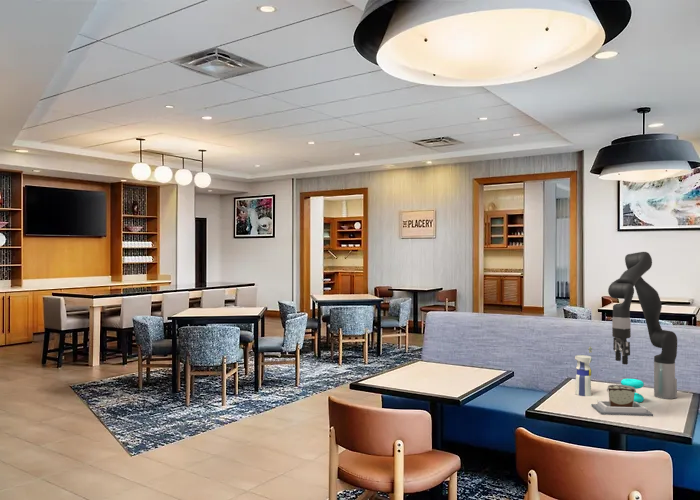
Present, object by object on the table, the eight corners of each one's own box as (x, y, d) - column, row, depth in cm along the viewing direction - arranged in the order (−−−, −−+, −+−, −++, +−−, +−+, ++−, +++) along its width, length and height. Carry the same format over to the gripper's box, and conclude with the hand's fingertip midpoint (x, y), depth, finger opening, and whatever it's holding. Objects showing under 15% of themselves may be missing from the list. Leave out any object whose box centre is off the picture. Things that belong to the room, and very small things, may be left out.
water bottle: (593, 393, 291) (593, 344, 292) (590, 397, 284) (590, 347, 284) (576, 391, 296) (576, 343, 296) (573, 394, 289) (573, 345, 289)
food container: (631, 406, 263) (631, 384, 263) (636, 410, 257) (636, 388, 257) (603, 405, 265) (603, 383, 265) (607, 408, 259) (607, 386, 259)
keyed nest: (640, 407, 265) (640, 401, 265) (653, 416, 251) (653, 409, 251) (591, 406, 267) (591, 399, 267) (601, 414, 254) (601, 407, 254)
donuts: (648, 381, 275) (632, 383, 272) (648, 402, 275) (632, 404, 271) (632, 377, 284) (616, 378, 281) (632, 397, 284) (616, 399, 281)
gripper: (607, 324, 267) (607, 359, 267) (618, 329, 253) (618, 365, 253) (624, 325, 266) (624, 359, 266) (636, 329, 252) (636, 365, 252)
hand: (621, 362), depth 260 cm, fingers open, 8 cm apart
